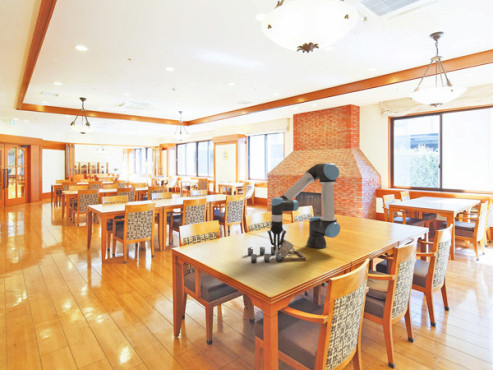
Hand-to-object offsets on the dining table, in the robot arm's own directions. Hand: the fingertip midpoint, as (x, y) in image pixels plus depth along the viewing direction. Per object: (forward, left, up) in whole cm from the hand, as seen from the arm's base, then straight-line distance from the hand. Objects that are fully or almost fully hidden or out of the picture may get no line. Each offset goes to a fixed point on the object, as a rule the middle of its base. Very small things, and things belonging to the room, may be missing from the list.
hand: (276, 254), depth 187 cm
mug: (-5, -1, -1) cm, 5 cm away
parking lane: (-9, 0, -2) cm, 9 cm away
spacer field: (+8, 0, -2) cm, 9 cm away
